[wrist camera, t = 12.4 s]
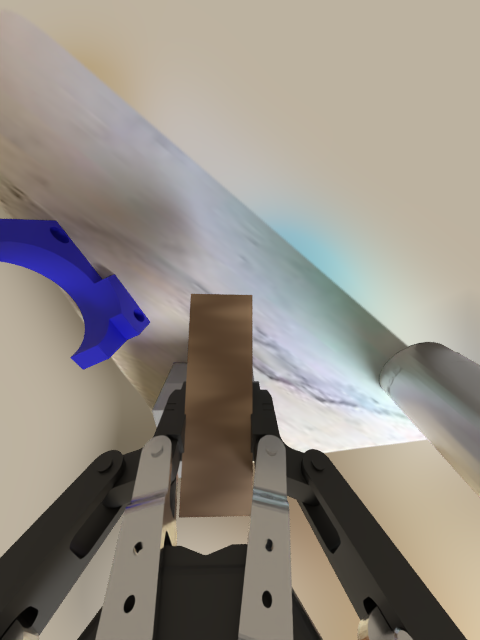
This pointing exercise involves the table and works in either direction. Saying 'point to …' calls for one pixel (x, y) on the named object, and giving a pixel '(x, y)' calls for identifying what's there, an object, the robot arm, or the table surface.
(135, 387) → the table surface
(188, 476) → the brown wooden plank
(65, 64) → the table surface
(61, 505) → the robot arm
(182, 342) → the table surface
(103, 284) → the blue bent block
